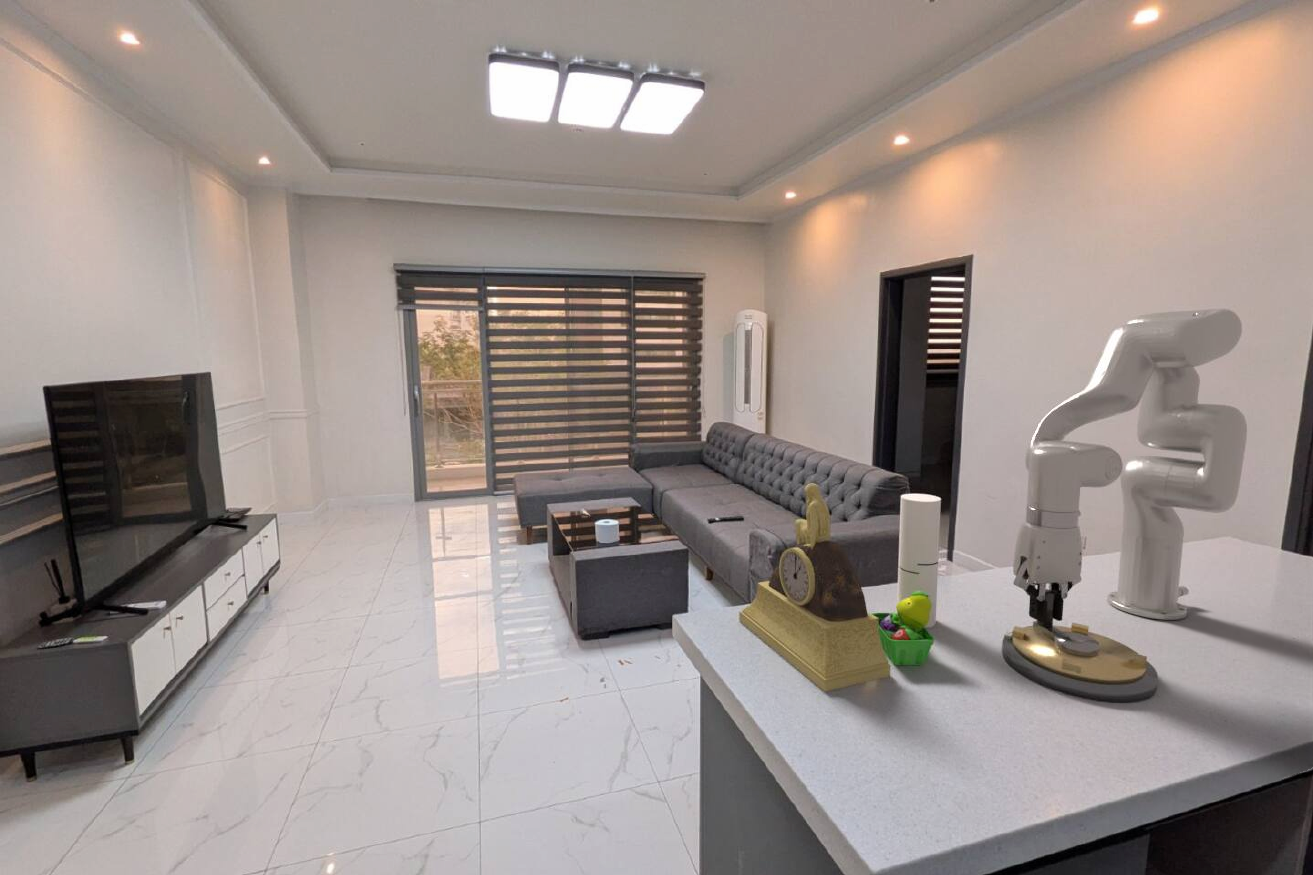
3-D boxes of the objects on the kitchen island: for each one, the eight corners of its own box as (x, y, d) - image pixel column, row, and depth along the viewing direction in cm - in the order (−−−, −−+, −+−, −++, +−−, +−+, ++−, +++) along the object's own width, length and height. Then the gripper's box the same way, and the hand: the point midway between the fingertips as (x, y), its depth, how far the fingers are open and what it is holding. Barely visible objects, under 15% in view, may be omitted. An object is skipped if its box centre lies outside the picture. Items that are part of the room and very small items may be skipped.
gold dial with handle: (1020, 622, 110) (1023, 579, 109) (1145, 650, 99) (1149, 603, 98) (1004, 660, 96) (1006, 611, 95) (1146, 697, 85) (1150, 642, 84)
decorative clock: (739, 621, 118) (739, 474, 115) (793, 611, 123) (795, 470, 119) (824, 692, 92) (828, 505, 88) (890, 676, 96) (896, 498, 93)
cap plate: (1059, 631, 111) (1060, 618, 111) (1189, 687, 91) (1191, 671, 91) (973, 649, 104) (974, 635, 104) (1094, 714, 85) (1095, 697, 84)
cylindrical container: (939, 629, 113) (945, 502, 110) (900, 626, 114) (905, 501, 111) (930, 613, 120) (935, 494, 117) (893, 611, 121) (897, 493, 118)
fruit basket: (867, 638, 110) (869, 580, 108) (915, 638, 109) (917, 580, 108) (889, 669, 98) (891, 605, 97) (942, 669, 98) (945, 605, 97)
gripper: (1073, 509, 107) (1066, 606, 109) (994, 515, 104) (989, 613, 107) (1111, 520, 100) (1103, 623, 102) (1027, 526, 97) (1021, 632, 99)
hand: (1045, 617), depth 104 cm, fingers closed on gold dial with handle, 2 cm apart
